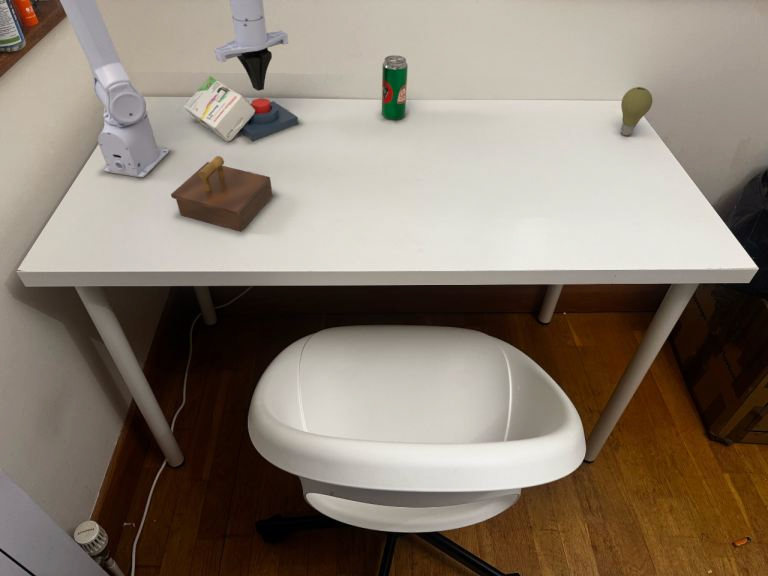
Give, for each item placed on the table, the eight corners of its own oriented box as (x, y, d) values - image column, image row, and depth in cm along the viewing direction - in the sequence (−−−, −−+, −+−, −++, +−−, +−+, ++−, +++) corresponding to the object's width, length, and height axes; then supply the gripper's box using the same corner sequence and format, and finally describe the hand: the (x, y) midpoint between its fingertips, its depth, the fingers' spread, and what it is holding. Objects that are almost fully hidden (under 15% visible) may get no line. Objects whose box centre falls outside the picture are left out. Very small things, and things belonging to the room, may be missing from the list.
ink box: (209, 74, 114) (242, 94, 108) (224, 91, 118) (257, 111, 112) (182, 106, 113) (214, 128, 107) (198, 121, 117) (229, 143, 111)
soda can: (401, 122, 118) (404, 66, 110) (378, 119, 119) (379, 62, 111) (407, 111, 122) (410, 56, 113) (385, 108, 123) (386, 52, 114)
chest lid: (171, 197, 92) (164, 173, 89) (208, 165, 99) (202, 141, 96) (237, 215, 89) (232, 191, 86) (270, 180, 96) (267, 156, 93)
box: (252, 141, 112) (249, 125, 109) (229, 124, 117) (226, 108, 114) (298, 124, 117) (296, 108, 115) (274, 108, 122) (272, 92, 119)
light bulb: (616, 141, 114) (632, 94, 107) (607, 128, 118) (622, 81, 111) (643, 141, 114) (661, 94, 107) (633, 128, 118) (650, 82, 111)
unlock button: (259, 116, 113) (257, 108, 112) (249, 109, 115) (248, 101, 113) (274, 110, 114) (273, 102, 113) (264, 104, 116) (263, 96, 115)
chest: (180, 215, 94) (175, 199, 92) (215, 182, 101) (212, 166, 99) (241, 231, 92) (237, 215, 89) (272, 196, 99) (270, 180, 96)
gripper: (270, 1, 107) (278, 71, 117) (201, 18, 100) (215, 91, 110) (291, 12, 104) (297, 83, 113) (221, 30, 97) (234, 104, 106)
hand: (258, 88), depth 111 cm, fingers closed
